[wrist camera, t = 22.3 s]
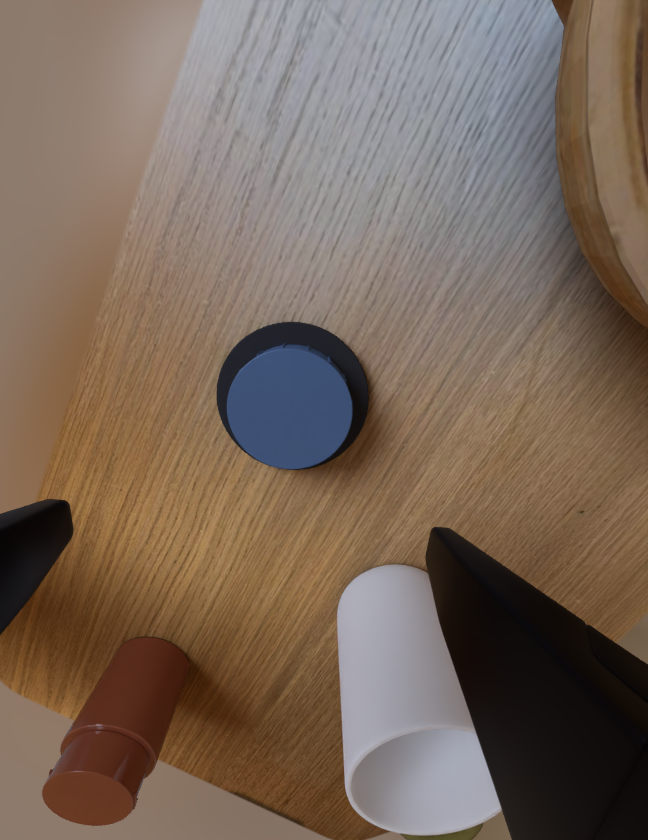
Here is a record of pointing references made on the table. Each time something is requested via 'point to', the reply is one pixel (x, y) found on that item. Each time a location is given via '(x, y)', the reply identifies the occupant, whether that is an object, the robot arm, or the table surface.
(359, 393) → the coaster
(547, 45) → the table surface
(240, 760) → the table surface
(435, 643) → the mug
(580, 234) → the ceramic bowl
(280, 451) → the jar lid
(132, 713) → the jar
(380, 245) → the table surface
